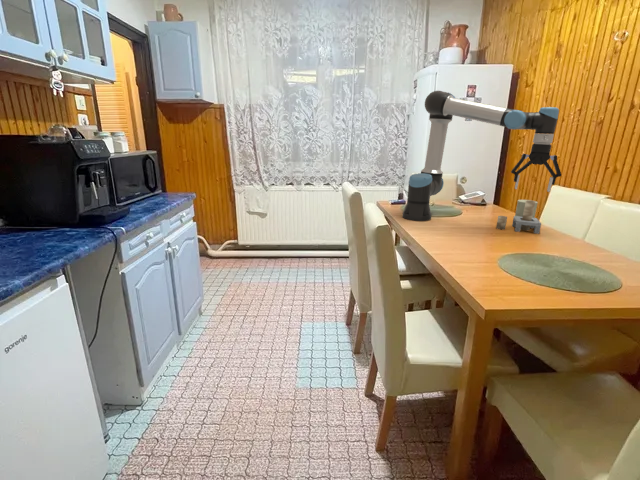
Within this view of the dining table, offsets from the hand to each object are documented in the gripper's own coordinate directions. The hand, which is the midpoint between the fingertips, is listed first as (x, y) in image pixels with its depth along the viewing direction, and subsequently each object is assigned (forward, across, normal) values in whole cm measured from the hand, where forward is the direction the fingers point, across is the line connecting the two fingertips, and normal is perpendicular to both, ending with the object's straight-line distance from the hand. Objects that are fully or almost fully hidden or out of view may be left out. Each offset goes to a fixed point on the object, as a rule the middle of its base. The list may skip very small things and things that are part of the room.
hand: (531, 190), depth 164 cm
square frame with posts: (+19, +1, 0) cm, 19 cm away
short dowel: (+19, -10, -3) cm, 22 cm away
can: (+20, +2, +15) cm, 25 cm away
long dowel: (+19, +1, 0) cm, 19 cm away
